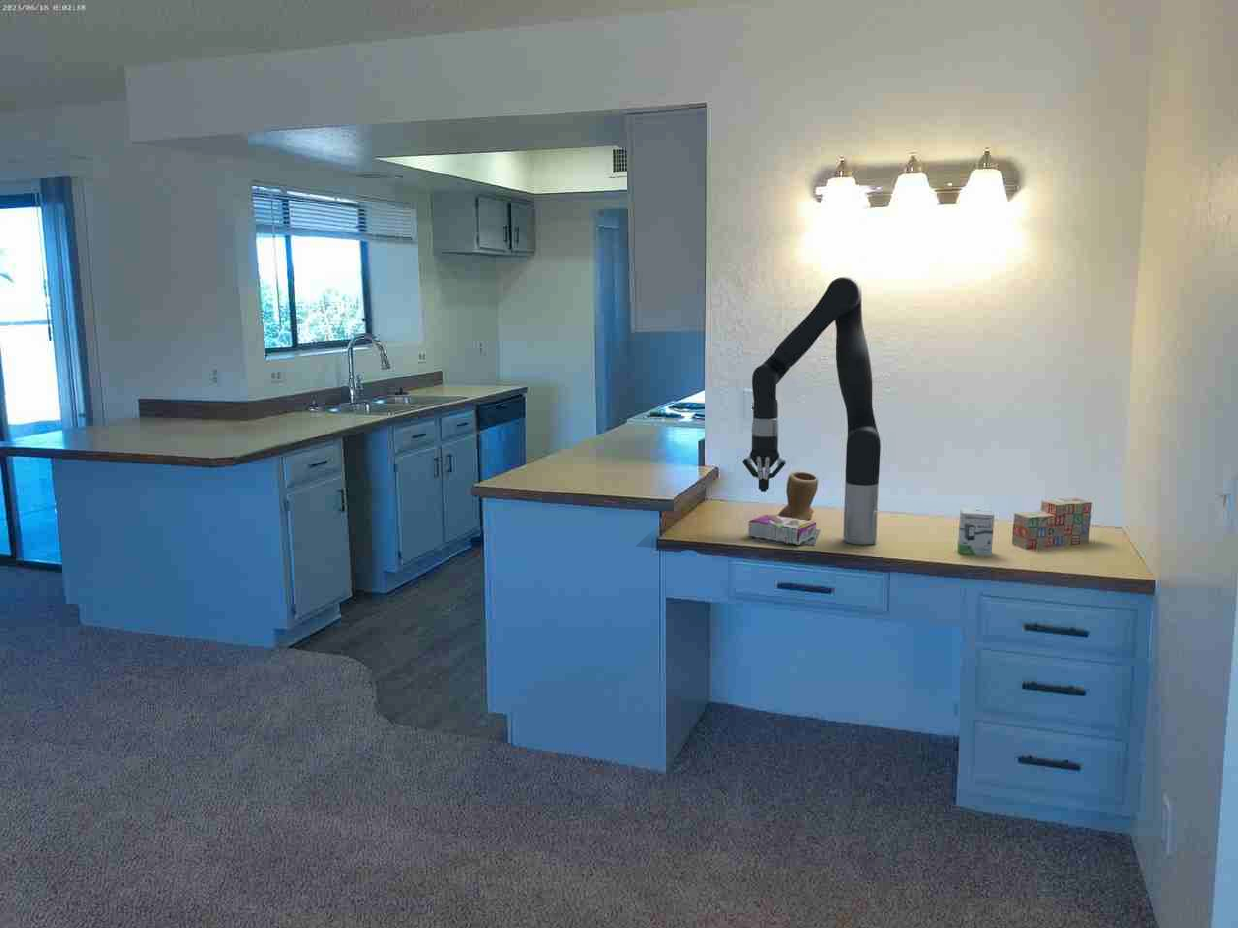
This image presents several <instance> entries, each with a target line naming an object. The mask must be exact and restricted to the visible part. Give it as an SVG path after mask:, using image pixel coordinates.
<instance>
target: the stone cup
mask: <svg viewBox="0 0 1238 928" xmlns="http://www.w3.org/2000/svg"><path fill="white" fill-rule="evenodd" d="M818 485H819V477H818V476H816V475H814V474H812V473H810V472H806V471H800V470H799V471H793V472H791V473H790V474H789V475H788V478H787V482H786V498H787V505H786V506H784V507H783V508H782V509H781V511H780V512H779V513H777V514H778V515H777V516H780V517H786V518H792V519H799V520H805V521H809V519H810V518H811V517H812V515H814V512H815V510H814V509H813V508H811V506H812V503H813V501H814V499H815V496H816V493H817V492H818Z"/></svg>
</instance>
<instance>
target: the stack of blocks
mask: <svg viewBox="0 0 1238 928" xmlns="http://www.w3.org/2000/svg"><path fill="white" fill-rule="evenodd" d="M1092 505H1093V502H1091V501H1089V500H1084V499H1082V498H1076V497H1073V498H1066V497H1065V498H1063V497H1061V498H1057V499H1045V500H1041V504H1040V510H1037V511H1035V510H1034V511H1024V512H1014V515H1013V524H1012V538H1011V544H1012V545H1014V546H1016V547H1019V548H1021V549H1024V550H1033V549H1034V550H1035V549H1044V548H1045V549H1046V548H1057V547H1065V546H1076V545H1078V546H1079V545H1085V544H1089V539H1090V526H1091V520H1092Z"/></svg>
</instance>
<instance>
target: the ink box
mask: <svg viewBox="0 0 1238 928" xmlns="http://www.w3.org/2000/svg"><path fill="white" fill-rule="evenodd" d="M994 527H995V513H994V511H993V510H988V509H987V510H986V509H974V508H973V509H972V508H962V509H960V514H959V527H958V539H957V553H958V554H959V555H967V556H968V555H970V556H980V557H981V556H982V557H992V553H993V540H994Z"/></svg>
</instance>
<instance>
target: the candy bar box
mask: <svg viewBox="0 0 1238 928" xmlns="http://www.w3.org/2000/svg"><path fill="white" fill-rule="evenodd" d="M816 529H817V522H816V521H811V520H810V521H809V520H807V521H805V520H799V519H792V518H786V517H780V516H778V515H772V514H765V515H762V516H760V517H758V518H757V517H756V518H753V519H751V520H749V521H748V537H750V538H751V537H752V538H761V539H767V540H773V541H778V542H783V543H790V544H789V545H794V544H795V546H797V545H798V546H800V545H799V544H801V543H804V542H806V541H809V540H811V539H814V538H816Z"/></svg>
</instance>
